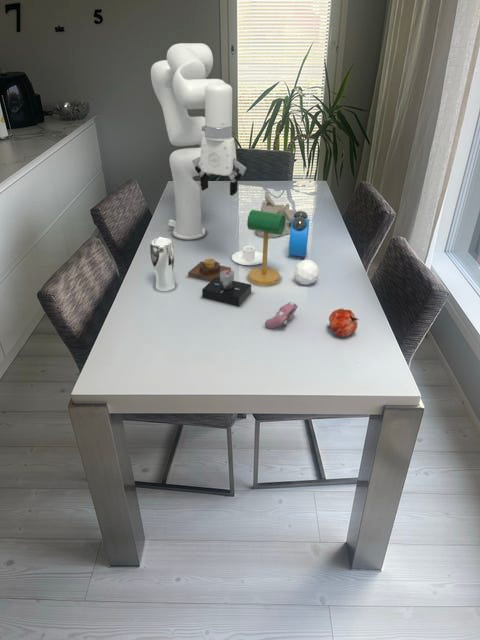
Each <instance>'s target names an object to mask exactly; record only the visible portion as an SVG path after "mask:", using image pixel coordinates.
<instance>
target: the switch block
mask: <svg viewBox="0 0 480 640" xmlns="http://www.w3.org/2000/svg"><path fill="white" fill-rule="evenodd" d="M224 270H230V271H232V268H231V267H230V266H225V265H221V264H220V262H219V261H216V260H215V267H213V268H207V267H204V261H200V262H198V264H196V265H195V266H194V267H193V268H192V269H190V270H189V271H188V272H187V275H188V278H193V279H197V280H201V281H205V282H208V283H210V282H211V281H212V280H213V279H214V278H215V277H220V272H222V271H224Z"/></svg>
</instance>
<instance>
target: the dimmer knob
mask: <svg viewBox="0 0 480 640" xmlns="http://www.w3.org/2000/svg"><path fill="white" fill-rule="evenodd" d="M234 281H235V273H234V271H232V270H231V271H230V270H224V271H222V272H220V287H221V289H224V290H230V289H232V288H233V287H234Z"/></svg>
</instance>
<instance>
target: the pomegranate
mask: <svg viewBox="0 0 480 640" xmlns="http://www.w3.org/2000/svg"><path fill="white" fill-rule="evenodd" d="M359 320H360V319H359V318H357V317H356V315H355V313H354V312H353V311H352V310H351V309H344V308H339V309H335V310H333V311H332V312H331V313H330V314H329V317H328V321H329V328H330V329H331V330H332V332H333V333H334V335H336V336H338V337H343V338H344V337H348V336H350V335H351V334H353V333H355V331H356V330H357V328H358V321H359Z"/></svg>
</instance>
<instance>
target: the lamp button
mask: <svg viewBox="0 0 480 640" xmlns="http://www.w3.org/2000/svg"><path fill="white" fill-rule="evenodd" d="M215 261H216V260H215V259H214V258H206V259H204V260H203V262H204V267H207V268H213V267H215Z"/></svg>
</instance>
